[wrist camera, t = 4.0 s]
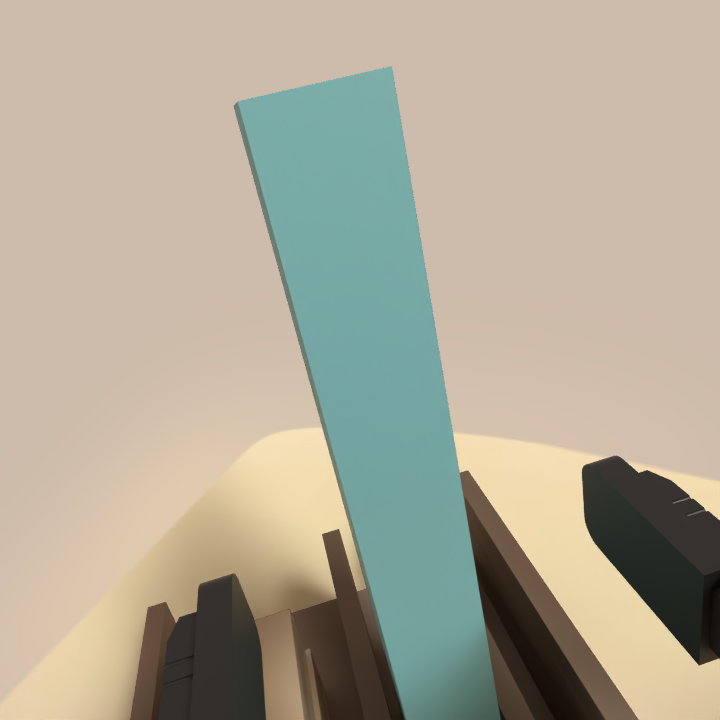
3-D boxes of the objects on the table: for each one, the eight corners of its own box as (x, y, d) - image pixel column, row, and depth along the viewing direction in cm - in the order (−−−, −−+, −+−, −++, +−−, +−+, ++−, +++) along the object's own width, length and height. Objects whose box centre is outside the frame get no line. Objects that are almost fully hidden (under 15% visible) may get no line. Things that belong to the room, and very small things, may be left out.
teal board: (444, 859, 18) (238, 101, 9) (401, 711, 23) (233, 106, 14) (519, 831, 18) (391, 66, 9) (461, 690, 23) (337, 82, 14)
